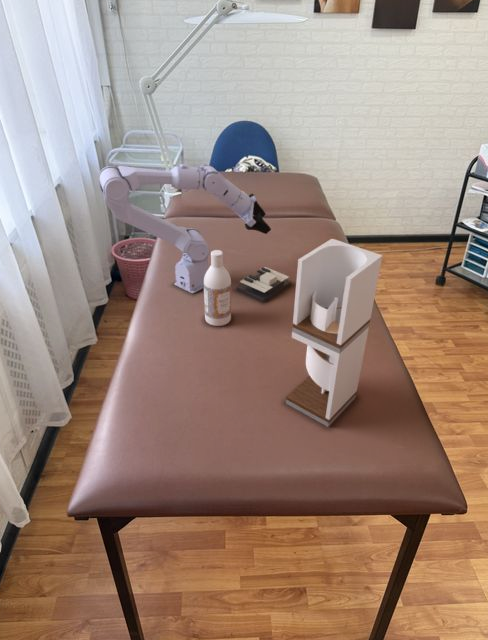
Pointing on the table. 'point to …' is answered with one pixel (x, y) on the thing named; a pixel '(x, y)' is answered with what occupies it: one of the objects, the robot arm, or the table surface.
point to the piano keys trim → (262, 287)
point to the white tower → (332, 325)
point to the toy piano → (261, 295)
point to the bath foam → (217, 291)
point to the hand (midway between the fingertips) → (265, 223)
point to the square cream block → (268, 278)
